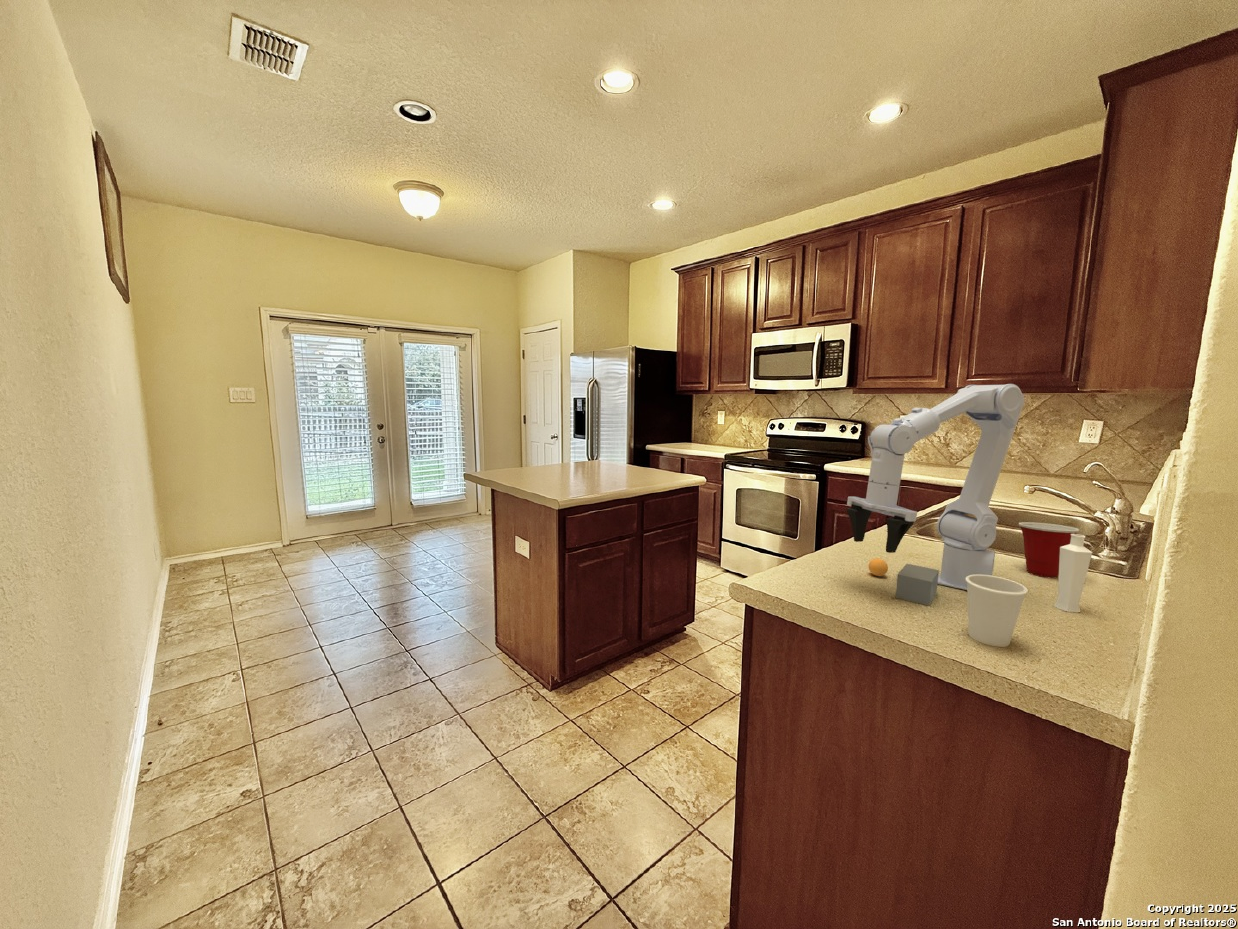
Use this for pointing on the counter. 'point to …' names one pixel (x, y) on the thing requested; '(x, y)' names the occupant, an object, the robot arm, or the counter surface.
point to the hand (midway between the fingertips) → (873, 546)
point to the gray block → (917, 584)
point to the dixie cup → (993, 608)
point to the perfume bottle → (1072, 573)
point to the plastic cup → (1044, 546)
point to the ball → (878, 567)
